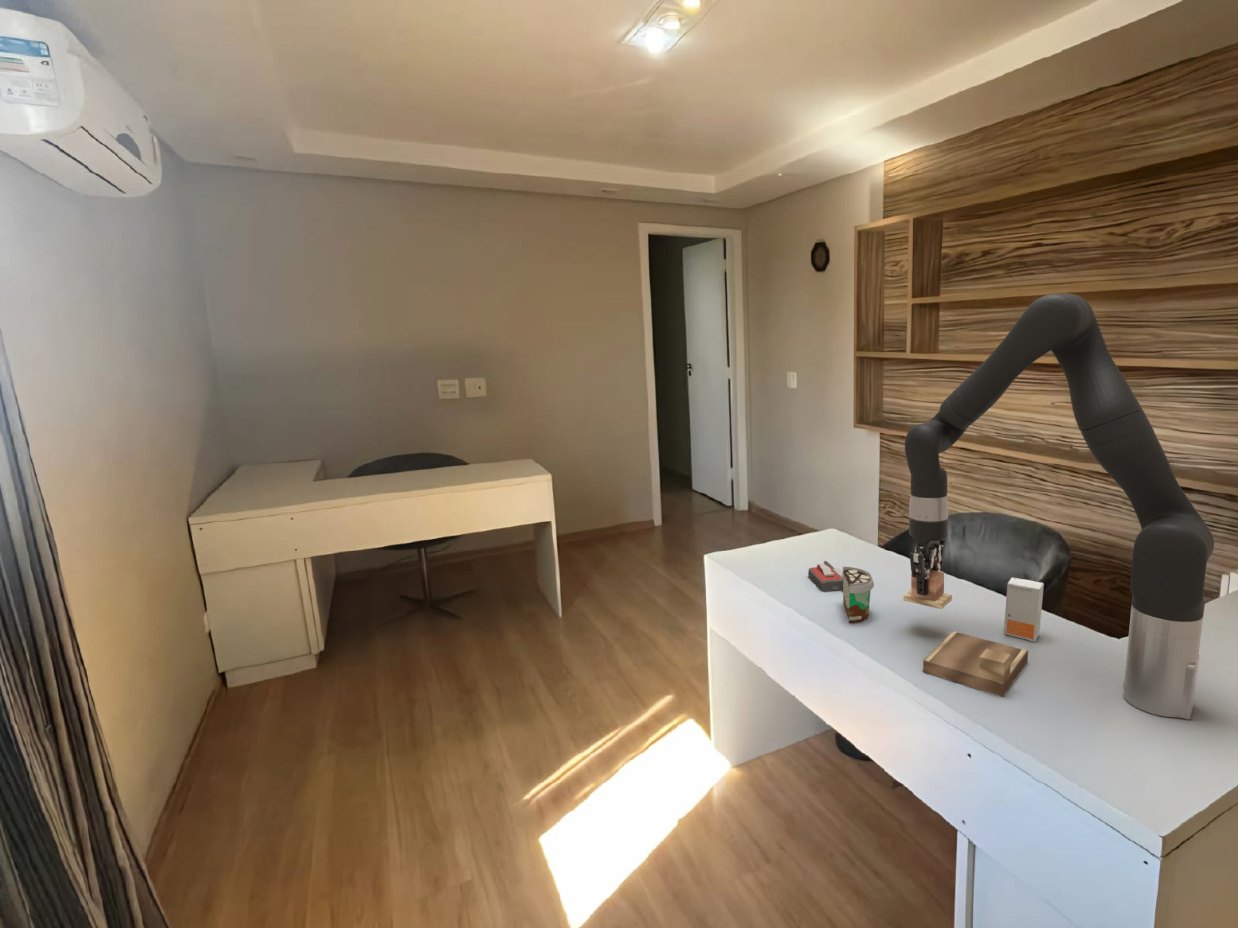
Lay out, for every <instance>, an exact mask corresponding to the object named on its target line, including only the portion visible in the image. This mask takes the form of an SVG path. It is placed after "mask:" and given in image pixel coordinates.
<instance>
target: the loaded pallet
mask: <svg viewBox="0 0 1238 928" xmlns="http://www.w3.org/2000/svg"><path fill="white" fill-rule="evenodd" d="M925 570H926V569H925ZM920 573H921V571H920ZM910 576H911V577H910V582H911V583H910V585H911V587H910V588H911V589H910V590H909V591H907V592H906V593H904V594H903V595H902V597H903V599H902V600H903V602H906V603H907V602H908V603H912V604H916V605H922V606H926V607H931V608H934V609H935V608H936V609H940V610H943V609H944V608H945V607H946V606H947V605H948V604H949V603H950V602H952V600H953V595H952V594H950V593H945V572H944V571H941V570H939V571H935V570H930V573H929V592H928V595H927V596H924V595H919V594H917V578H915V577H912V573H911V575H910Z"/></svg>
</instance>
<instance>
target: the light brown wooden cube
mask: <svg viewBox="0 0 1238 928" xmlns="http://www.w3.org/2000/svg"><path fill="white" fill-rule="evenodd" d="M1010 659H1011V655H1010V654H1006V653H1002V652H998V651H994V650H990V649H986V650H985V651H984V652H983V653H982V655H981V656H980V657H979V677H981V678H985V679H988V680H992V681H996V682H999V683H1003V684H1004V682H1005V681H1006V680H1007V678H1008V677H1009V676H1010Z"/></svg>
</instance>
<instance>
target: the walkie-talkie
mask: <svg viewBox="0 0 1238 928" xmlns="http://www.w3.org/2000/svg"><path fill="white" fill-rule="evenodd" d="M807 573H808V574H807V575H808V578H809V579H810V581H811V582H813V584H814V585H815V586H816V587H817V588H818V589H819V590H820V592H822V593H834V592H843V570H841V568H839V567H838V568H835V567H834V566H833V565H831V564H830V562H828V560H824V561H823V563H818V564H817V565H816V567H809V568H808V572H807Z"/></svg>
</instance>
